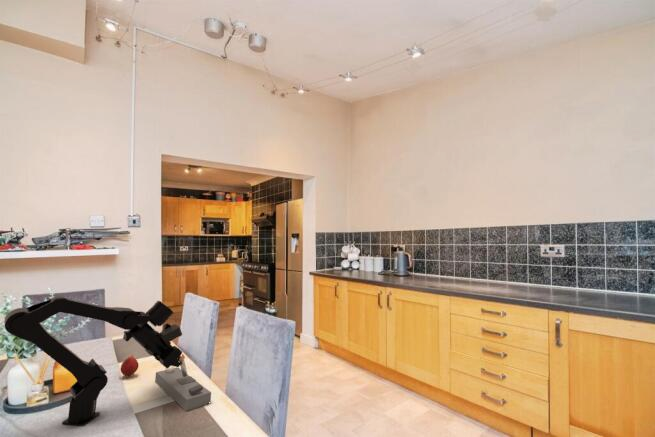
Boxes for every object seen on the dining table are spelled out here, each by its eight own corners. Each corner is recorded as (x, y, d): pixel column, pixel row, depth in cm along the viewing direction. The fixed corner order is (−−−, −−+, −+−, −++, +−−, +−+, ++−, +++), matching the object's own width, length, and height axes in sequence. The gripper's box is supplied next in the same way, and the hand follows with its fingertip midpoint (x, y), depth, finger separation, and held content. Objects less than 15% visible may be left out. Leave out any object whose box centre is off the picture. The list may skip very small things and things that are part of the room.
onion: (128, 380, 121) (131, 358, 122) (115, 378, 122) (118, 356, 123) (140, 375, 127) (142, 353, 127) (128, 373, 128) (130, 352, 129)
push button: (166, 373, 121) (167, 368, 121) (164, 371, 123) (164, 366, 123) (175, 371, 123) (175, 366, 123) (172, 369, 125) (172, 364, 125)
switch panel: (185, 411, 102) (186, 398, 102) (155, 381, 121) (156, 371, 122) (210, 403, 107) (211, 391, 108) (177, 376, 127) (177, 366, 127)
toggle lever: (183, 378, 114) (178, 357, 113) (180, 376, 116) (175, 355, 115) (189, 374, 116) (185, 353, 115) (187, 372, 117) (182, 352, 116)
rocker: (191, 394, 105) (191, 391, 104) (188, 392, 106) (188, 389, 106) (202, 389, 107) (202, 386, 107) (199, 387, 109) (199, 384, 109)
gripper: (178, 323, 105) (208, 352, 112) (158, 313, 119) (185, 339, 125) (149, 353, 99) (182, 382, 106) (131, 338, 112) (162, 365, 119)
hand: (178, 365), depth 114 cm, fingers closed, pressing on toggle lever
